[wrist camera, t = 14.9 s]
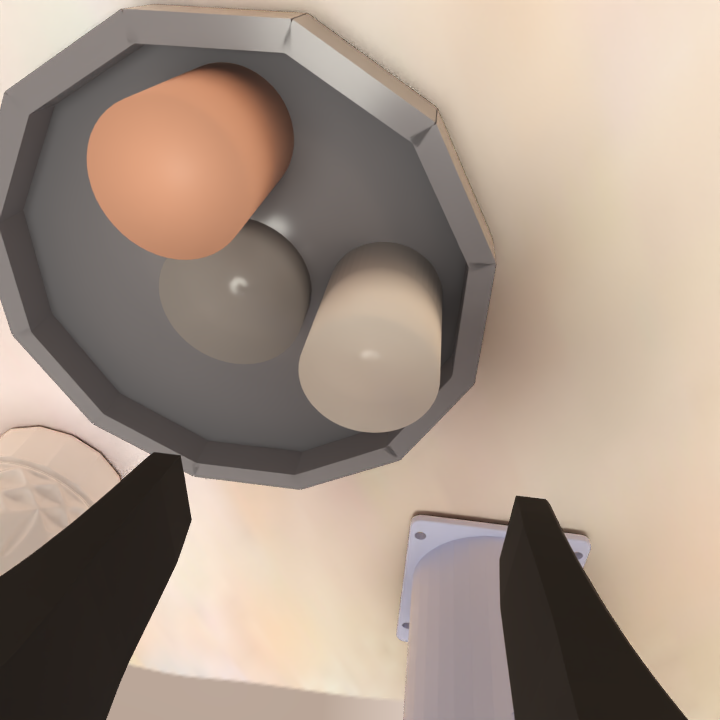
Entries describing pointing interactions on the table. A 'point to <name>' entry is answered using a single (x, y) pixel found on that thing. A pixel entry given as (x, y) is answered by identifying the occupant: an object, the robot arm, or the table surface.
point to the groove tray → (230, 247)
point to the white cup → (45, 488)
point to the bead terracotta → (190, 159)
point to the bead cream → (376, 340)
